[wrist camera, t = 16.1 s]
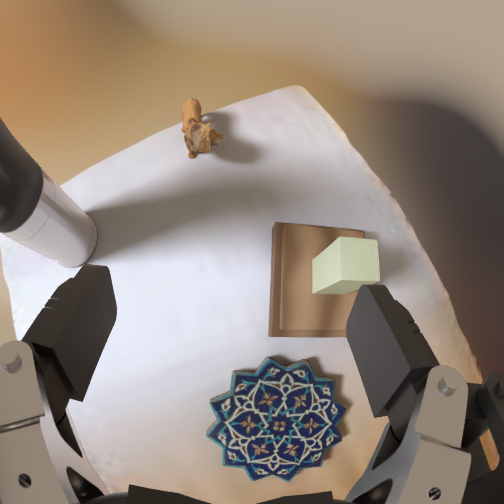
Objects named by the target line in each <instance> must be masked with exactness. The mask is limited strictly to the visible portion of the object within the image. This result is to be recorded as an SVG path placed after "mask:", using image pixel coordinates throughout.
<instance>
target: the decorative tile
mask: <svg viewBox="0 0 504 504" xmlns="http://www.w3.org/2000/svg"><path fill="white" fill-rule="evenodd" d="M334 388H335V380H334V379H332V378H328V377H319V376H315V374H314V372H313V370H312V368H311V366H310V364H309V362H308V360H305V359H302V360H300V361H297V362H294V363H292V364H289V365H286V366H283V365H281V364H279V363H278V362H276V361H274V360H273V359H271V358H269V357H266V358H265V359H264V361H263V362H262V363H261V364H260V366H259V367H258V368H257V369H256V371H255V372H244V371H233V372H232V378H231V386H230V390H229V391H228V392H225V393H223V394H221V395H219V396H216V397H214V398H212V399H211V400H210V405H211V407H212V410H213V412H214V414H215V416H216V419H217V420H216V421H215V422H214V423H213V424H212V425H211V426H210V428H209V429H208V430H207V432H206V436H207V437H208V438H210V439H211V440H212V441H214V442H215V443H217V444H218V445H220V446H221V447H222V448H223V458H222V465H223V466H229V467H239V468H244V470H245V471H246V473H247V474H248V476H249V478H250V479H251V481H256V480H259V479H262V478H265V477H268V476H271V475H274V476H276V477H278V478H281V479H283V480H285V481H287V482H289V481H290V480H291V479H292V478H293V477H294V476H295V475H296V474H297V473H298V472H299V471H300V470H301V469H302V468H312V467H321V466H322V464H323V458H324V453H325V450H327V449H328V448H330V447H332V446H334V445H336V444H337V443H339V442H341V441H342V438H341V436H340V433H339V431H338V428H337V424H338V422H339V420H340V419H341V417H342V415H343V414H344V412H345V410H346V409H345V408H344V407H343V406H341V405H340V404H339V403H337V402H336V401H335V400H334Z"/></svg>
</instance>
